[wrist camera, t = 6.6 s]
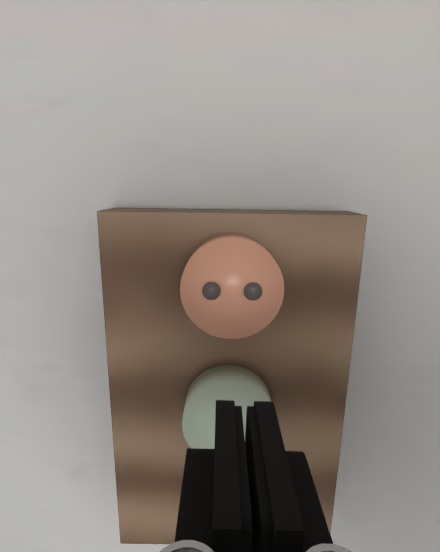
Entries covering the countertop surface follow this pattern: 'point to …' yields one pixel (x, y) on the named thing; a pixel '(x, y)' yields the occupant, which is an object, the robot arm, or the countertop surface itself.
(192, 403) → the sage button
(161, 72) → the countertop surface
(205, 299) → the terracotta button
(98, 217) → the button board
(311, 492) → the robot arm
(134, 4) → the countertop surface
